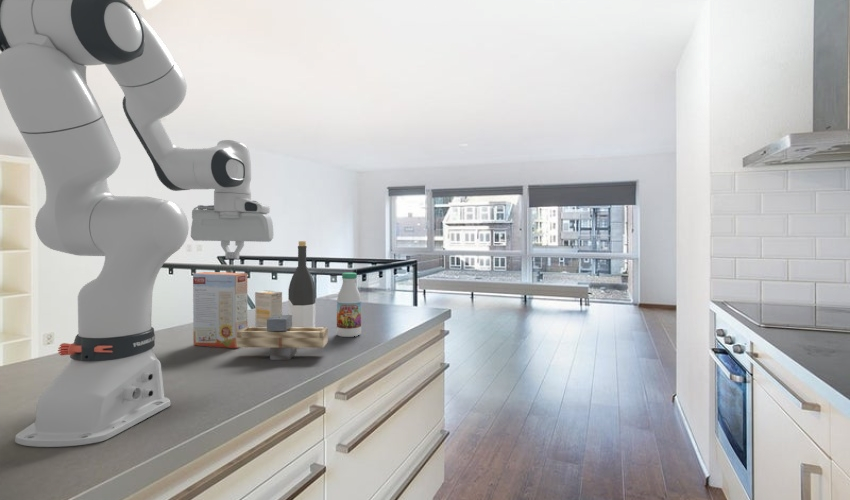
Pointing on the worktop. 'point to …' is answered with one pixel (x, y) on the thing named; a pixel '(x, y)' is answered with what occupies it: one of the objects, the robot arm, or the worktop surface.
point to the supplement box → (267, 306)
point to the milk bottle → (349, 307)
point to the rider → (279, 323)
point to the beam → (283, 340)
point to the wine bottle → (302, 293)
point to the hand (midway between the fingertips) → (232, 258)
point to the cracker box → (219, 308)
